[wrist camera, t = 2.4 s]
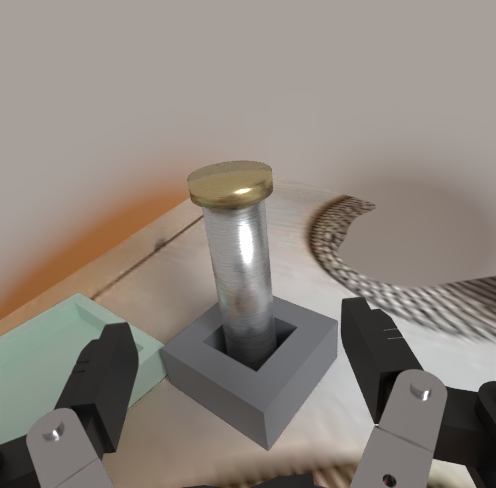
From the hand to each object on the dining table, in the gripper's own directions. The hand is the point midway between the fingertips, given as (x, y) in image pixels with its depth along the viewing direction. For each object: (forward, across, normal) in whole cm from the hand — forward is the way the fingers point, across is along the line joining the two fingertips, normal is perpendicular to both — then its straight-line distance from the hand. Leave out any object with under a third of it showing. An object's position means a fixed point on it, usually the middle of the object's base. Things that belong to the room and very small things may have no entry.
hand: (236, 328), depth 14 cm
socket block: (+12, 0, +15) cm, 19 cm away
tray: (+12, +17, +15) cm, 25 cm away
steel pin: (+12, 0, +15) cm, 19 cm away
